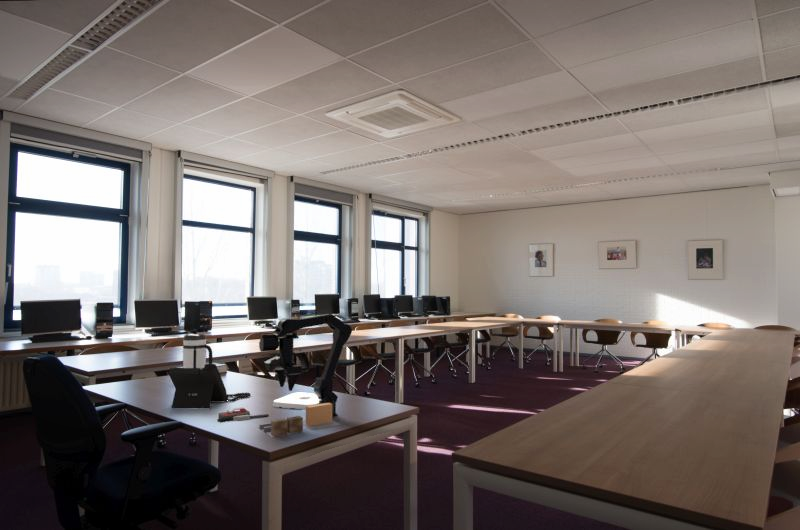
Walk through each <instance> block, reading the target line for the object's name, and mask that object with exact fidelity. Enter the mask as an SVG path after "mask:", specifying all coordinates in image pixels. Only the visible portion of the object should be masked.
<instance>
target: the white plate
mask: <svg viewBox="0 0 800 530" xmlns="http://www.w3.org/2000/svg"><path fill="white" fill-rule="evenodd" d="M319 400H320V399H319V398H318V396H317V395H316V394H315V392H304V391H303V392H301V391H297V392H293V393H292V392H291V393H289V394H286V395H284V396H282V397H279V398H277V399H274V400H273V402H272V403H273V407H274V406H275V407H274V408H279V407H282V409H290V408H295V409H294V410H301V409H304V410H306V406H310V405H316V404H319Z"/></svg>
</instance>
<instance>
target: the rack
mask: <svg viewBox="0 0 800 530" xmlns="http://www.w3.org/2000/svg"><path fill="white" fill-rule="evenodd" d="M258 426H259V427H258V429H259V430H261V431H263V432H264V433H265V434H266V435H268V436H269V437H271V438H275V437H276V438H277V436H273V435H271V422H267V423H261V424H259V425H258ZM303 432H306V430H305V429H303V431H301V432H300V433H303ZM297 433H299V432H295V433H288V432H287V434H284V435H279V436H278V437H282V436H286V435H291V434H292V435H293V434H297Z"/></svg>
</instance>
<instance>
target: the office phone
mask: <svg viewBox="0 0 800 530" xmlns="http://www.w3.org/2000/svg"><path fill="white" fill-rule="evenodd" d="M168 376H169V378H170V380H171V382H172V384H173V386H174V388H175V391H174V395H173V400H172V403H171V407H172V408H198V409H199V408H211V401H225V402H224V403H228V402H227V400H228V401H233V402H235V401H237V400H239V399H238V398H241V399H246V398H249V397H251V396H252V395H251V393H250V392H236V393H234V394H233V393H232V394H230V393H229V394H228V393H227V389H226V386H225V383H224V381H223V378H222V376H221V373H220V371H219V369H218V367H217V364H216V363H213V362H212V363H209V362H208V363H206V364H205V366H204V368H202V369H200V368H183V367H174V368H173V367H171V368H169V371H168ZM238 395H240V396H238ZM241 395H242V396H241ZM233 396H237V397H233ZM245 397H246V398H245ZM236 399H237V400H236ZM199 410H200V409H199Z"/></svg>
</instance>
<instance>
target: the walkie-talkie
mask: <svg viewBox="0 0 800 530" xmlns="http://www.w3.org/2000/svg"><path fill="white" fill-rule="evenodd" d="M217 417H218V418H217V422H220V423H226V421H227V422H234V421H247V420H251V419H252V420H253V419H261V418H263V417H269V413H265V414H264V413H263V414H256V415H251V413H250V411H249V410H247V409H246V408H245V407H236V408H235V407H234V408H233V409H232V410H229V409H226V411H224V412H218V416H217Z"/></svg>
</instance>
